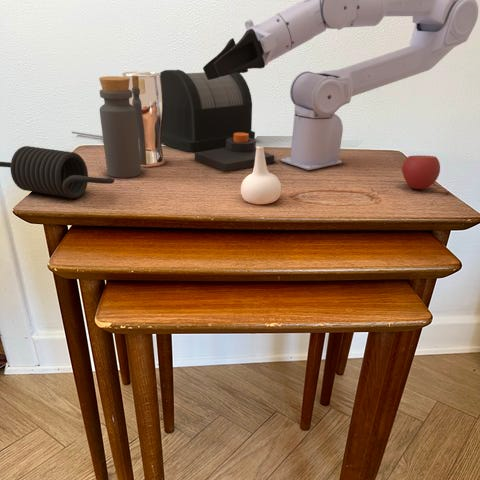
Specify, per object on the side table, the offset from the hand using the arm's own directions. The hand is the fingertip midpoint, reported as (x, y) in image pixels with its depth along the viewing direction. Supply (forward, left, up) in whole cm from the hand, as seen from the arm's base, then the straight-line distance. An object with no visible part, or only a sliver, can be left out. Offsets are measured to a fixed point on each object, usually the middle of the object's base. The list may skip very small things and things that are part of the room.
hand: (211, 72), depth 75 cm
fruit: (-22, +25, -14) cm, 36 cm away
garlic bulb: (+3, +17, -16) cm, 24 cm away
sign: (+10, -41, -15) cm, 45 cm away
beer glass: (+7, -11, -16) cm, 21 cm away
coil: (+24, -3, -10) cm, 26 cm away
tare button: (-12, -6, -13) cm, 19 cm away
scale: (-8, -3, -16) cm, 18 cm away
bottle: (+14, -7, -16) cm, 22 cm away
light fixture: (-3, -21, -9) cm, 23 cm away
